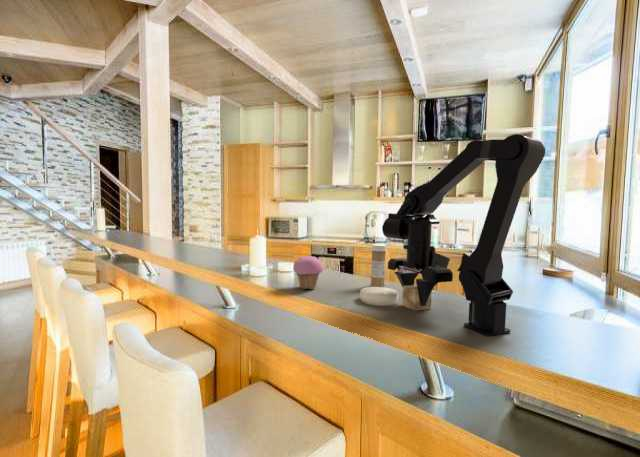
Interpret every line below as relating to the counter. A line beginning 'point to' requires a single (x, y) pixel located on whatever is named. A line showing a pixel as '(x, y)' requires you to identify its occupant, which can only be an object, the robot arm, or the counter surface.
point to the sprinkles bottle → (378, 265)
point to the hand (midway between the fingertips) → (416, 302)
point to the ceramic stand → (379, 296)
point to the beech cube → (413, 298)
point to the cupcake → (308, 271)
